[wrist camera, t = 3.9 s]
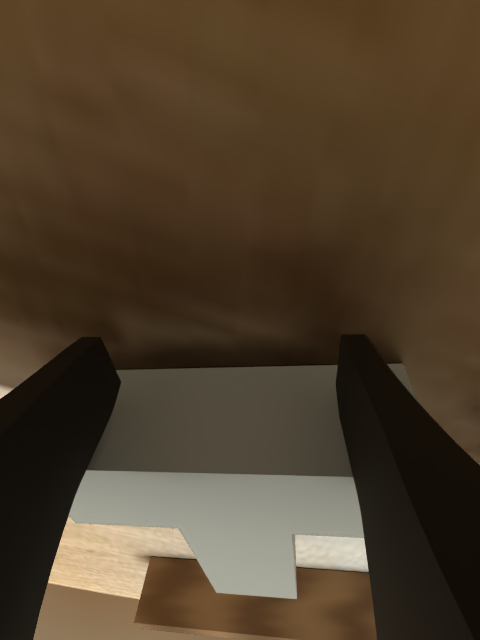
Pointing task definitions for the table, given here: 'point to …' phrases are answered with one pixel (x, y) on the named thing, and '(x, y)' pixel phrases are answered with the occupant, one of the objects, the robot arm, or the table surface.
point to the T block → (228, 467)
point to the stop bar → (256, 606)
